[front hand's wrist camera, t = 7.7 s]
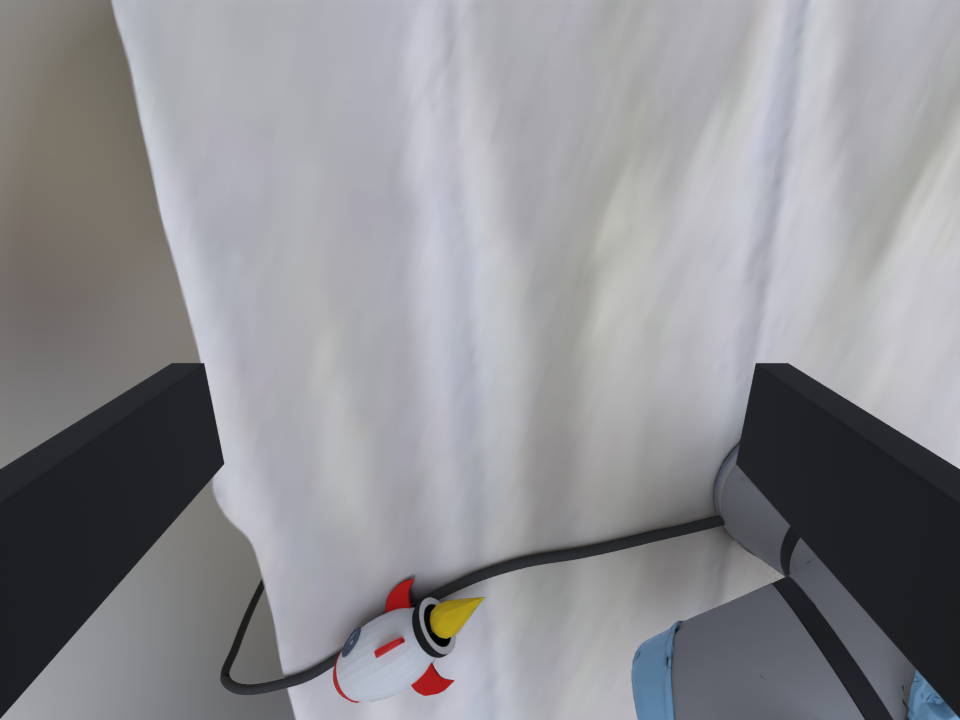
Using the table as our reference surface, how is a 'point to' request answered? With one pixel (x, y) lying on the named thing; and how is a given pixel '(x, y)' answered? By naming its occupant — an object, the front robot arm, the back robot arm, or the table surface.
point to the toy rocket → (401, 647)
